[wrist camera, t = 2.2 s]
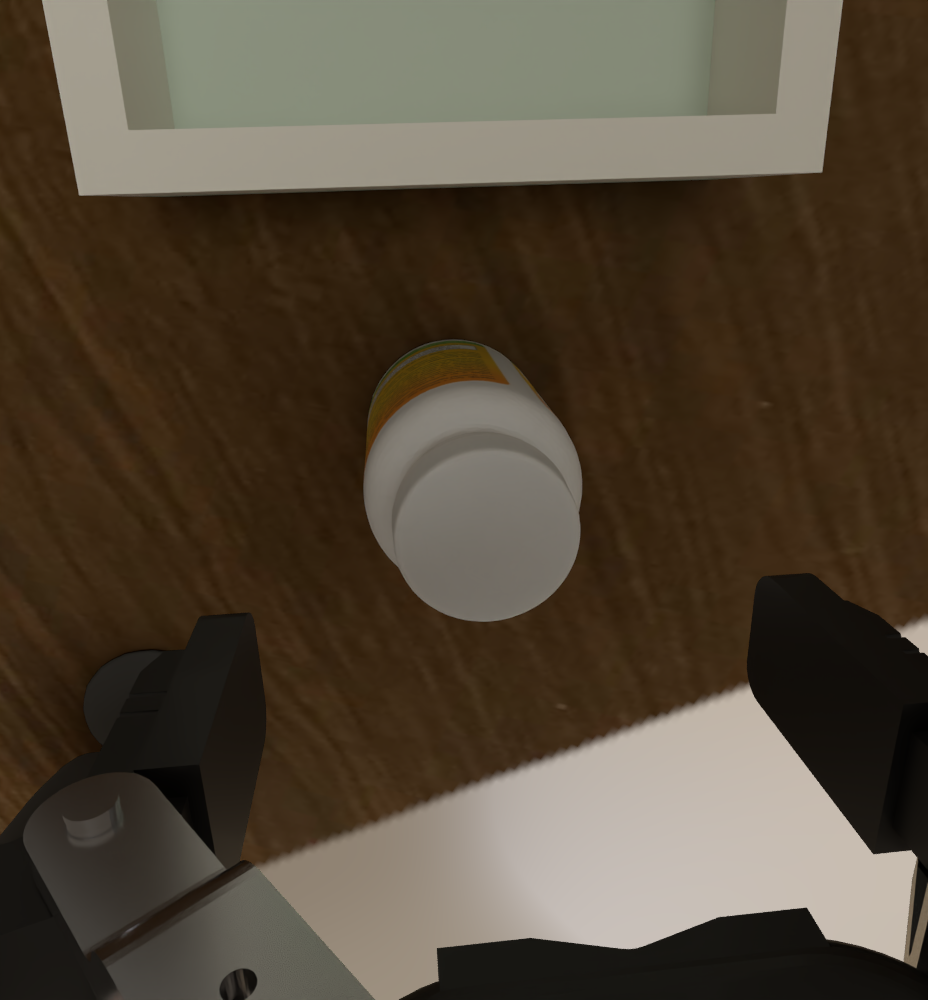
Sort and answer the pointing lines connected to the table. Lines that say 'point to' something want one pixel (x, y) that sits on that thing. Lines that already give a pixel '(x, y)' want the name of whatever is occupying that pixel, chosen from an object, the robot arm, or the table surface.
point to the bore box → (438, 92)
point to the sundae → (100, 714)
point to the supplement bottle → (471, 482)
